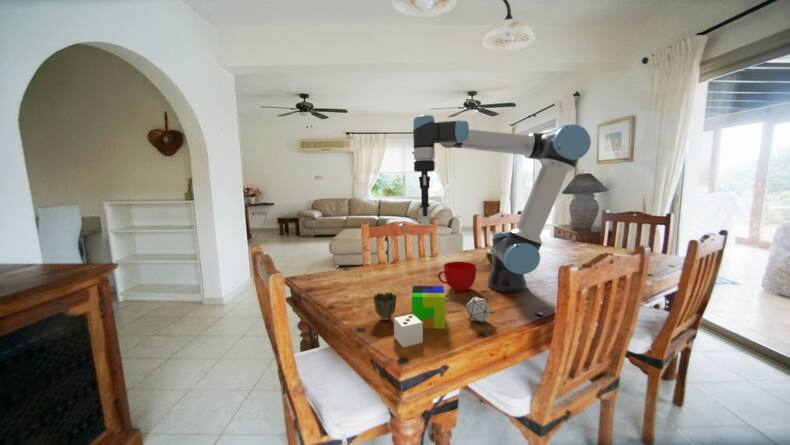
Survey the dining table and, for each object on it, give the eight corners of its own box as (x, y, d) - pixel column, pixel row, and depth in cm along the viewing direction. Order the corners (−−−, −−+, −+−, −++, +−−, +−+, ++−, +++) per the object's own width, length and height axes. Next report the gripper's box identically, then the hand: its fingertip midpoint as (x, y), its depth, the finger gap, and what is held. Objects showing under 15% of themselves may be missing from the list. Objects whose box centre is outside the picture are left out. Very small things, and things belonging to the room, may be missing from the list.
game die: (477, 335, 96) (467, 317, 91) (465, 315, 103) (454, 297, 98) (502, 320, 96) (493, 301, 90) (488, 302, 103) (479, 283, 98)
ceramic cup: (429, 288, 128) (429, 265, 127) (463, 282, 135) (463, 260, 134) (447, 298, 116) (447, 273, 115) (482, 291, 123) (483, 267, 122)
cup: (396, 314, 104) (396, 291, 103) (397, 324, 96) (396, 299, 95) (374, 315, 104) (373, 292, 103) (373, 325, 96) (373, 300, 95)
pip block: (413, 333, 91) (412, 313, 90) (422, 342, 85) (422, 321, 84) (394, 337, 88) (393, 317, 88) (402, 347, 83) (402, 326, 82)
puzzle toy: (443, 314, 103) (443, 286, 101) (445, 328, 93) (445, 297, 92) (413, 314, 104) (413, 285, 102) (412, 328, 94) (411, 296, 93)
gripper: (414, 162, 118) (415, 222, 121) (413, 159, 105) (414, 227, 108) (433, 161, 118) (434, 222, 121) (435, 158, 105) (436, 227, 108)
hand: (425, 224), depth 115 cm, fingers closed
